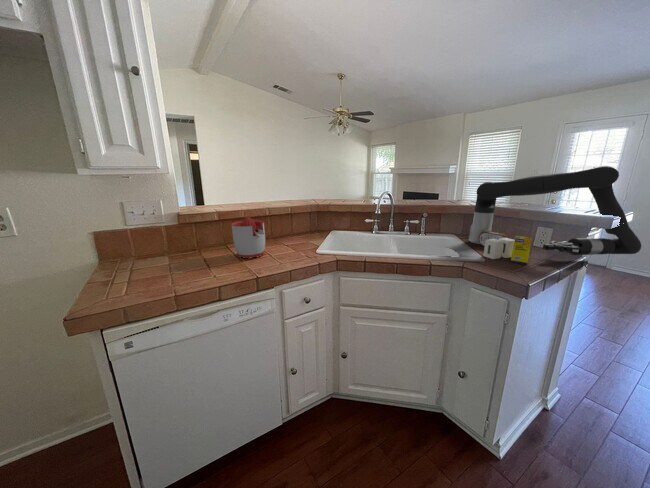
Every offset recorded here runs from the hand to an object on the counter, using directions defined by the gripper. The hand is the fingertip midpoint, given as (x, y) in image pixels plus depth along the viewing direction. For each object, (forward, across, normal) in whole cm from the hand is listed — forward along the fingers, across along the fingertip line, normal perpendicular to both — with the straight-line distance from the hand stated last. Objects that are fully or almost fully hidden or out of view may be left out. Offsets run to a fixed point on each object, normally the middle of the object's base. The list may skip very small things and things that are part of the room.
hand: (544, 247), depth 112 cm
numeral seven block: (+11, -8, +7) cm, 15 cm away
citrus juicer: (+133, -13, +7) cm, 134 cm away
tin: (+8, -21, +7) cm, 24 cm away
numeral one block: (+18, -7, +7) cm, 20 cm away
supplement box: (+10, 0, +7) cm, 12 cm away
